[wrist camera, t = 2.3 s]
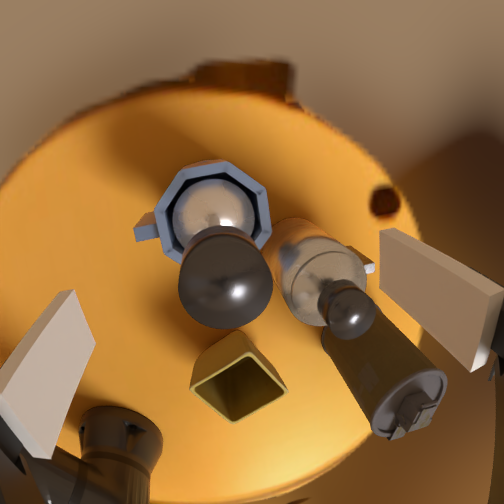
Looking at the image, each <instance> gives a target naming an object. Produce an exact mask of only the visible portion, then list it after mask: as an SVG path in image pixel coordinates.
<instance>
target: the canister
mask: <svg viewBox="0 0 504 504" xmlns="http://www.w3.org/2000/svg"><path fill="white" fill-rule="evenodd" d="M375 306H376V315H375V319H374V321H373V323H372V325H371V326H370V328H369V329H368V330H367V331H366V332H365V333H363V334H362V335H360V336H359V337H357V338H354V339H349V340H344V339H340V338H338V337H336V336H335V335H334V334H333V333H332V331H331V330H330V328H329V327H328V326H327V325H326V326H325V327H324V329H323V333H322V346H323V348H324V350H325V352H326V353H327V354H328V355H329V356H330V357H331V359H332V361H333V362H334V364H335V366H336V367H337V369H338V371H339V372H340V374H341V376H342V377H343V379H344V381H345V382H346V384H347V386H348V387H349V389H350V391H351V392H352V394H353V396H354V397H355V399H356V401H357V402H358V404H359V406H360V407H361V409H362V411H363V413H364V414H365V416H366V418H367V419H368V421H369V423H370V426H371V430H372V431H373V432H374V433H375V434H376V435H378V436H382V437H387V439H388V440H393V439H397V438H400V437H403V436H404V434H405V433H406V432H410V431H413V430H416V429H419V428H423V427H426V426H428V425H429V423H430V421H431V420H432V418H431V417H432V416H433V414H434V412H435V410H436V408H437V406H438V405H439V403H440V401H441V399H442V398H443V396H444V394H445V391H446V387H447V377H446V375H445V373H444V372H443V371H442V370H440V369H438V368H436V366H434V364H433V363H432V362H431V361H430V360H429V359H428V358H427V357H426V356H425V355H424V354H423V353H422V352H421V351H420V350H419V349H418V348H417V347H416V346H415V345H414V344H413V343H412V342H411V341H410V340H409V339H408V338H407V337H406V336H405V335H404V334H403V333H402V332H401V331H400V330H399V329H398V328H397V327H396V326H395V325H394V324H393V323H392V322H391V321H390V320H389V319H388V318H387V317H386V316H385V315H384V314H383V313H382V311H381V309H380V308H379V307H378V306H377V305H376V304H375Z"/></svg>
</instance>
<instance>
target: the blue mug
mask: <svg viewBox="0 0 504 504" xmlns="http://www.w3.org/2000/svg"><path fill="white" fill-rule="evenodd" d="M205 179H223V180H226V181H229V182H231V183H233V184H235V185H236V186H238V187H239V188H240V189H241V190H242V191H243V192H244V193H245V194H246V195H247V197H248V198H249V200H250V202H251V204H252V207H253V210H254V228H253V231H252V234H251V236H250V237H251V238H252V239H253V241H254V242H255V243H256V245H257V247H258V249H259V250H260V249H261V248H262V247H263V245H264V244H265V242H266V241H267V240H268V238H269V237H270V236H271V234H272V227H271V220H270V213H269V205H268V198H267V191H266V189H265V187H263V186H262V185H261V184H259V183H258V182H257V181H255V180H254V179H252V178H251V177H250V176H248V175H247V174H245V173H244V172H243V171H241V170H240V169H238V168H237V167H235V166H234V165H233V164H231V163H230V162H228V161H226V160H224V159H217V160H202V161H198V162H196V163H193V164H190V165H185V166H184V167H183V168H182V169H181V170H180V171H179V172H178V173H177V175H176V176H175V178H174V179H173V181H172V182H171V184H170V185H169V187H168V188H167V190H166V191H165V193H164V194H163V196H162V198H161V199H160V201H159V202H158V204H157V205H156V207H155V208H154V209H155V210H154V211H153V212H148V213H145V214H144V216H143V217H142V218H141V219H140V221H139V222H138V223H137V224H136V225H135V227H134V228H133V229H134V234H135V238H136V242H139V241H144V240H148V239H153V238H158V237H160V240H161V244H162V248H163V252H164V253H165V255H166V256H168V257H169V258H171V259H172V260H174V261H176V262H177V263H179V264H180V265H181V262H182V256H183V252H184V249H185V248H184V247H183V246H182V245H181V244H180V242H179V241H178V239H177V237H176V235H175V232H174V229H173V212H174V208H175V205H176V203H177V201H178V199H179V197H180V196H181V194H182V193H183V192H184V191H185V190H186V189H187V188H188V187H190V186H191V185H193V184H194V183H196V182H199V181H201V180H205Z"/></svg>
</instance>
